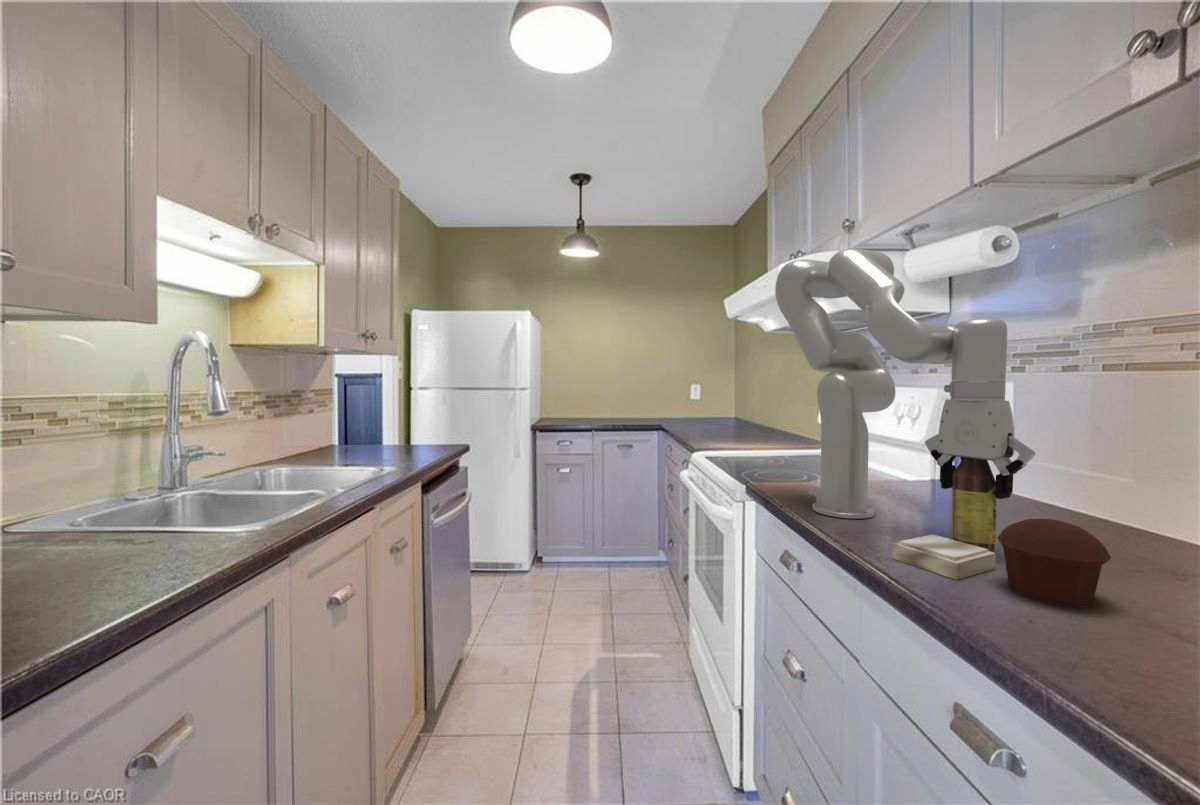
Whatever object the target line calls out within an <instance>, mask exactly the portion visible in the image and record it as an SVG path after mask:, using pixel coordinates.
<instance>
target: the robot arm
mask: <svg viewBox="0 0 1200 805" xmlns="http://www.w3.org/2000/svg"><path fill="white" fill-rule="evenodd" d="M894 273H895V266H894V262H893V260H892V259H891V258H890V257H889V256H888V255H887V253H886V254H885V253H883V252H881V251H876V250H870V249H863V248H853V247H852V248H845V249H841V250H840V251H837V252H836V253H834V255H833V256H832V257H831V258H830V260H828V261H821V260H814V259H797V260H793V261H790V262H788V263H786V264H785V265H783V267H782V268H781V269H780V270H779V273H778V274H777V277H776V280H775V286H774V287H775V289H774V290H775V291H774V292H775V293H774V294H775V300H776V304H777V306H778V308H779V310H780V312H781V314H782V316H783V317H784V319H785V320H786V321H787V324H788V325H789V327H790V328H791V330H792V332H793V335H794V337H795V339H796V341H797V344H798V346H799V348H800V350H801V352H802V353H803V355H804V357H805V360H806V362H807V363H808V365H809V366H810V367H811V368H812V369H813V370H815V371H817V372H821V373H826V374H825V375H824V376H823V377H822V378H821V380H820V381H819V383H818V385H817V389H816V397H817V398H816V399H817V403H818V409H819V414H820V474H819V476H820V478H819V479H820V480H819V482H820V483H819V486H820V487H819V486H812V487H811V489H809V490H808V493H807V494H808V496H811V497H815V498H816V499H815V501H814V502H813V503H812V510H813V511H814V512H816V513H818V514H821V515H824V516H829V517H834V518H841V519H852V520H853V519H854V520H855V519H856V520H857V519H858V520H861V519H870V518H873V517H874V516H875V515H876V510H875V508H874V507H872V506H870V505H868V488H869V487H868V485H869V483H868V482H869V481H868V480H869V442H870V440H869V429H868V424H867V422H866V420H865V417H864V414H863V413H877V412H882V411H884V410H886V409H888V408H890V406H891V405H892V404H893V403H894V401H895V398H896V384H895V382H894V379H893V377H892V376H891V374H890V372H889V369H888V368H887V367H886V365H885V363H884V362H883V360H882V358H881V355H880V354H879V352H878V351H877V349H876V347H875V345H874V344H873V343H872V341H871V340H870V339H868V338H867V337H866V336H865V335H863V334H861V333H858V332H853V331H842V330H840V329H837V327H836V326H835V325H834V324H833V322H832V321H831V318H830V316H829V314H828V312H827V311H826V310H825V309H824V307H823V306H821V304H819V303H818V302H817V301H816V300H815V299H814V298H817V299H818V298H820V299H839V298H847V297H848V298H849V299H850V301H852V302H853V303H854V304H855V305H856V306H857V307H859V309H861V311H863V313H864V314H865V323H866V326H867V329H868V331H869V333H870V335H871V337H872V338H873V339H874V340H875V341H876V342H877V343H878V344H879V345H880V346H881V347H883V349H885V350H886V352H888V353H889V354H890V355H891V356H892V357H894V358H895V359H897V360H899V361H902V362H903V363H907V364H928V365H947V364H948V365H949V364H951V379H950V380H951V381H950V382H949V383H950V384H946V385H944V388H943V390H944V391H943V392H945V393H949V396H950V398H949V399H946V398H945V400H944V403H943V407H942V411H941V414H940V420H939V427H938V433H937V434H935V435H933V436H932V437H930V438H928V439H926V440H924V444H925V446H926V448H927V449H928V450H929V452H930V455H931V457H932V458H933V459H934V460H935V461H936V464H937V466H939V481H940V489H944V490H946V489H952V488H953V473H954V471H955V469H956V468H957V466H956V465H954V464H953V463H954V462H955V461H956V460H957V459H958V457H959V458H960V457H965V458H973V459H981V460H987V461H992V462H993V464H994V465H995V467H996V469H997V470H998V471H999V474H996V475H995V481H996V485H995V497H996V500H1003V499H1009V498H1010V497H1011V495H1012V494H1013V492H1014V475H1016V474H1018V472H1019V471H1021V470H1022V469H1023V468H1025V467H1026V466H1027V465H1028V463H1029V462H1030V461H1031V460H1032V459H1034V457H1035V456H1036V452H1035V450H1033V449H1031V448H1030V447H1028V446H1027V445H1026V444H1024V443H1023V442H1021V441H1020V440H1018V439H1017V438H1016V437H1015V428H1014V427H1015V425H1014V417H1013V412H1012V408H1011V403H1010V400H1006V381H1007V380H1006V379H1007V378H1006V377H1007V376H1006V375H1007V357H1008V356H1007V352H1008V351H1007V350H1008V325H1007V323H1006V322H1005V321H1003V319H998V318H997V319H996V318H981V319H980V318H978V319H968V320H962V321H959V322H957V323H940V322H929V321H919V320H918V319H916V318H914V316H912V315H911V314H909V313H908V312H907V311H906V310H905V309H903V308H902V306H901V305H900V302H901V301H902V298H903V297H904V295H905V286H904V284H903V282H901V281H900V280H899V279H898V278H896V277H895V275H894ZM1014 452H1016V453H1018V456H1017V457H1016V458H1015V459H1014V460H1013V461H1012V459H1011V458H1012V457H1013V456H1014Z"/></svg>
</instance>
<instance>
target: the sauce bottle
mask: <svg viewBox="0 0 1200 805" xmlns="http://www.w3.org/2000/svg"><path fill="white" fill-rule="evenodd" d="M959 458H960V462H959V464H958V465H957V466H956V469H955V471H954V473H953V488H951V538H952V540H955V541H959V542H963V543H966V544H970V545H974V546H978V547H981V548H985V549H988V551H989V552H993V553H994V551H995V547H996V545H995V544H996V542H997V498H996V497H995V485H996V478H995V476H994V473H993V471H992V468H991V466H990V464H989V460H981V459H973V458H965V457H959Z"/></svg>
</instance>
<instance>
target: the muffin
mask: <svg viewBox="0 0 1200 805" xmlns="http://www.w3.org/2000/svg"><path fill="white" fill-rule="evenodd" d="M996 539H997V540H998V542H999V543H1000V545H1001V546H1002V550H1003V554H1004V555H1003V556H1004V562H1005V569H1006V575H1007V581H1008V582H1007V583H1008V587H1009V588H1010V589H1011V588H1012V589H1011V590H1013V589H1014V590H1013V591H1015V590H1016V591H1015V592H1017V593H1018V592H1019V593H1020V594H1019V593H1018V594H1019V595H1021V596H1022V595H1023V596H1022V597H1025V596H1027V597H1026V598H1029V597H1030V598H1029V599H1032V598H1034V599H1033V600H1035V599H1036V601H1038V600H1040V601H1039V602H1041V601H1042V602H1041V603H1044V602H1046V603H1045V604H1047V603H1051V604H1050V605H1054V604H1058V605H1057V606H1061V605H1063V607H1067V606H1068V608H1072V607H1073V608H1074V607H1076V608H1082V607H1081V606H1087V607H1093V603H1094V600H1095V596H1096V592H1097V587H1098V583H1099V579H1100V574H1101V570H1102V566H1103V565H1104V564H1106V563H1108V562H1109V561H1110V560H1112V556H1111V555H1110V553H1109V551H1108V549H1107V548H1106V546H1105V545H1104V544H1103V543H1102V542H1101V541H1100V540H1099V539H1098V538H1097V537H1096V536H1095V535H1093V534H1092V533H1090V532H1089V531H1087V530H1085V529H1083V528H1081V527H1080V526H1079V525H1075V524H1071V523H1069V522H1066V521H1062V520H1056V519H1051V518H1050V519H1048V518H1027V519H1023V520H1021V521H1017V522H1015V523H1012V524H1010V525H1007V526H1006V527H1005V528H1004V529H1002V531H1001V532H1000V534H999V535H998V536H996ZM1074 609H1075V608H1074Z"/></svg>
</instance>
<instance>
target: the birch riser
mask: <svg viewBox="0 0 1200 805" xmlns="http://www.w3.org/2000/svg"><path fill="white" fill-rule="evenodd" d="M996 555H997V554H996V553H995V552H994V551H993V552H989V551H988V549H985V548H981V547H978V546H974V545H970V544H966V543H963V542H959V541H955V540H953V538H952V539H951V538H947V537H945V536H940V535H937V534H932V533H931V534H928V535H922V536H918V537H913V538H910V539H904V540H900V541H899V542H895V543H892V559H894V560H896V561H898V562H902V563H905V564H908V565H911V566H914V567H916V568H920V569H923V570H926V571H929V572H932V573H935V574H938V575H941V576H944V577H947V578H951V579H953V580H955V581H958V580H961V579H964V578H965V579H966V578H968V577H972V576H974V575H976V576H977V575H978V574H982V573H986V572H989V571H993V570H995V569H996Z"/></svg>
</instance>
